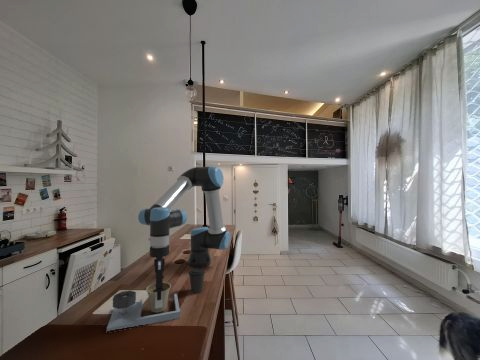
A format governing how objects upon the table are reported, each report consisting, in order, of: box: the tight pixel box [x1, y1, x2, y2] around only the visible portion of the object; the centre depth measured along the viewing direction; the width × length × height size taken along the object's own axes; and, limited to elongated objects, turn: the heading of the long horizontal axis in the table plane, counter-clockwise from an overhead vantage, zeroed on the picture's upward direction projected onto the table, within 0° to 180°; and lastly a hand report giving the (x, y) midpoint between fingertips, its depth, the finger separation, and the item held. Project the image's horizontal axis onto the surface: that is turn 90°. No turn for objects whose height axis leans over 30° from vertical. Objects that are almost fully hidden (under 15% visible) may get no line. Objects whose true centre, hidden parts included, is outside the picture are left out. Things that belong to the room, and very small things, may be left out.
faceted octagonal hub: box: [112, 290, 137, 309], centre depth 87 cm, size 8×8×3 cm
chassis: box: [106, 293, 181, 332], centre depth 89 cm, size 25×16×8 cm, turn 110°
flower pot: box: [146, 281, 172, 314], centre depth 91 cm, size 9×9×9 cm
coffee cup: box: [188, 268, 206, 294], centre depth 109 cm, size 8×8×10 cm
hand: (158, 301), depth 91 cm, fingers closed on flower pot, 9 cm apart
